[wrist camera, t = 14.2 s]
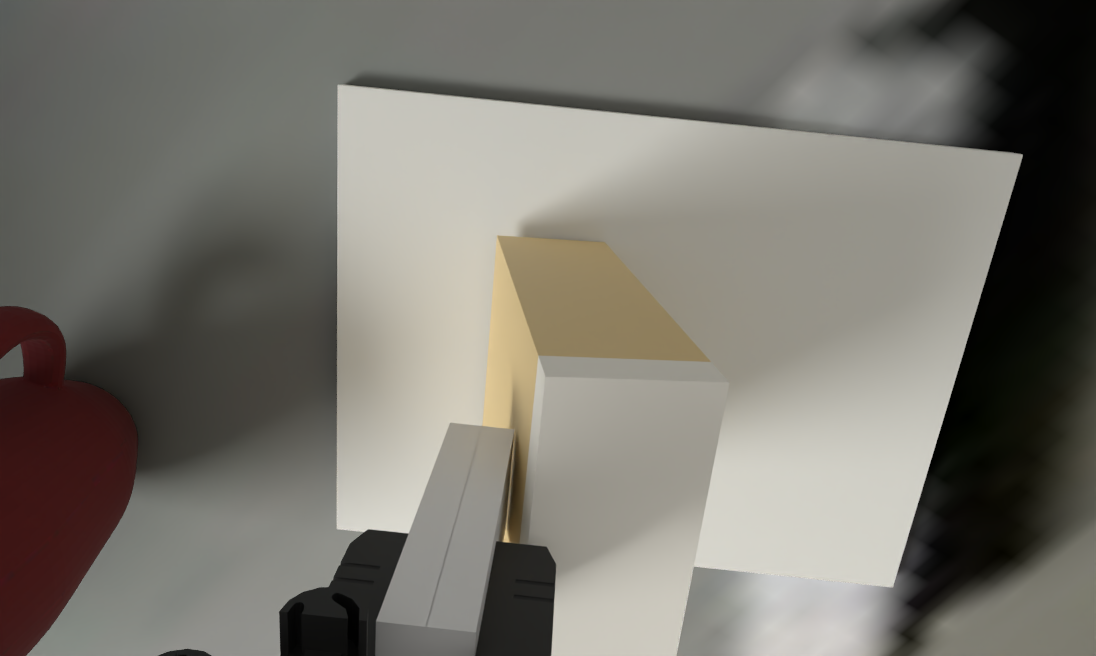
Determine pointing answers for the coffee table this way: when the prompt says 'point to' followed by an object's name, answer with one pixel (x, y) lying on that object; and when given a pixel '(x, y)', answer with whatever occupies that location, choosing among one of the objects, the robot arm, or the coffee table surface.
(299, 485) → the coffee table surface
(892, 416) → the mat
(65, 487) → the mug
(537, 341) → the slab
